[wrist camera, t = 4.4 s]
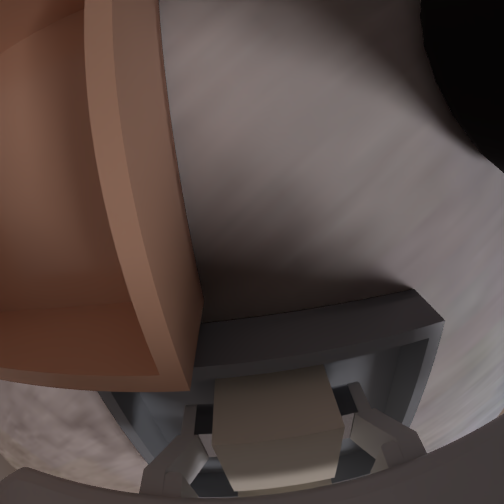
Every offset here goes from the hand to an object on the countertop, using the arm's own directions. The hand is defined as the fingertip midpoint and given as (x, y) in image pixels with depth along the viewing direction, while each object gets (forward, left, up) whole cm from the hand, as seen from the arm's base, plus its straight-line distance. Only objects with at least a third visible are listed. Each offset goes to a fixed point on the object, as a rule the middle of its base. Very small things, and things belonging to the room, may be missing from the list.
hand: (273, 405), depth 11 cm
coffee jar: (-13, +12, -2) cm, 18 cm away
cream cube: (0, 0, -1) cm, 1 cm away
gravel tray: (+3, 0, -2) cm, 3 cm away
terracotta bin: (-10, -8, -2) cm, 13 cm away
